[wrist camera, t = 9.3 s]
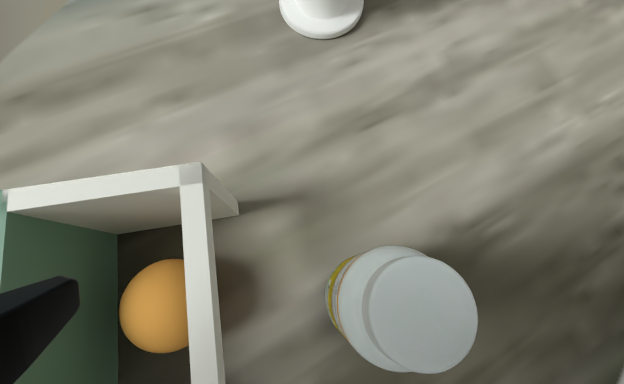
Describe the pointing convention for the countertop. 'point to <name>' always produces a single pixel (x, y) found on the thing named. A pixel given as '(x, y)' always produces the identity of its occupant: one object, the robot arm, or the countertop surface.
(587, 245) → the countertop surface
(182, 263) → the ball
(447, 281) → the supplement bottle
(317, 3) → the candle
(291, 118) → the countertop surface
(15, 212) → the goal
